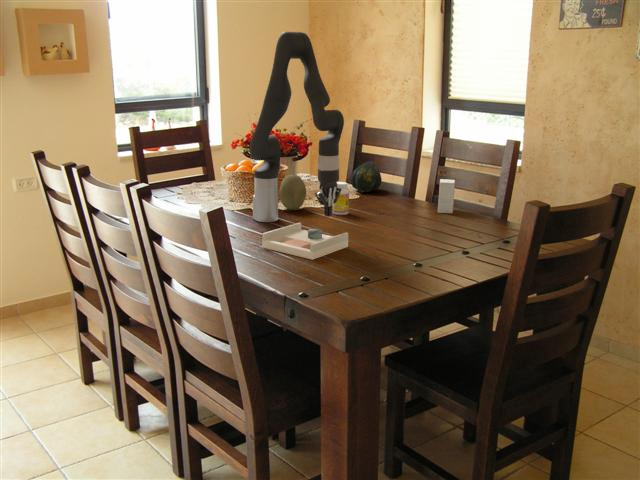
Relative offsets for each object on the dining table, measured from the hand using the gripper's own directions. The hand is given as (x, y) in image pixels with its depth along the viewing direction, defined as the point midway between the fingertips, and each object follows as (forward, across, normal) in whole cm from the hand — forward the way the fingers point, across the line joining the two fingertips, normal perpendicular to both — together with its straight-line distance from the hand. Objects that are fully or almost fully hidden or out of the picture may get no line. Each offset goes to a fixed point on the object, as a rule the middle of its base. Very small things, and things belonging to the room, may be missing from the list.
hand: (328, 216), depth 254 cm
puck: (+6, +8, 0) cm, 10 cm away
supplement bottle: (+9, -36, -20) cm, 42 cm away
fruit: (+8, -29, -40) cm, 50 cm away
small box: (+9, -68, +11) cm, 70 cm away
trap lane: (+9, +12, 0) cm, 15 cm away
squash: (+8, -81, -38) cm, 90 cm away
